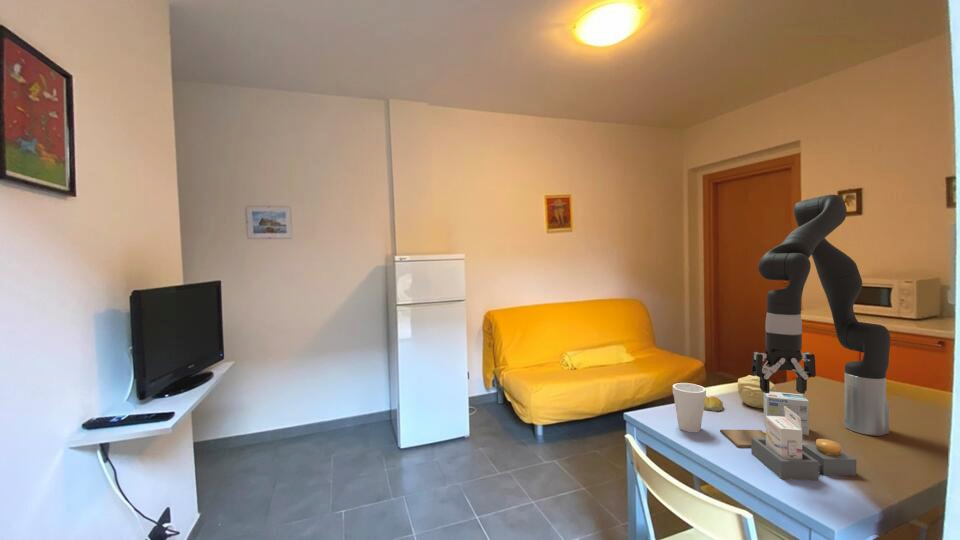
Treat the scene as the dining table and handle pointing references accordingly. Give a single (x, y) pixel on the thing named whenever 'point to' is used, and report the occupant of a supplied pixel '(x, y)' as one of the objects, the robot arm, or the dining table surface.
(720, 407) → the bread roll
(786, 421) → the ink cartridge box
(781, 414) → the light bulb box
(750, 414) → the dining table surface
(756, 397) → the sculpture
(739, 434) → the walnut pad
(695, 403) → the foam cup
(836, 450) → the orange dome button
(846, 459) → the cartridge dock
